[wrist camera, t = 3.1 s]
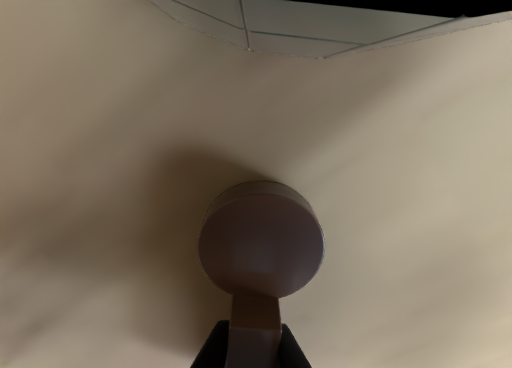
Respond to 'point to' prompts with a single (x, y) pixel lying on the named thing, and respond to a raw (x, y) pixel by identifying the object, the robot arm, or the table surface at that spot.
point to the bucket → (331, 22)
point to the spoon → (259, 262)
